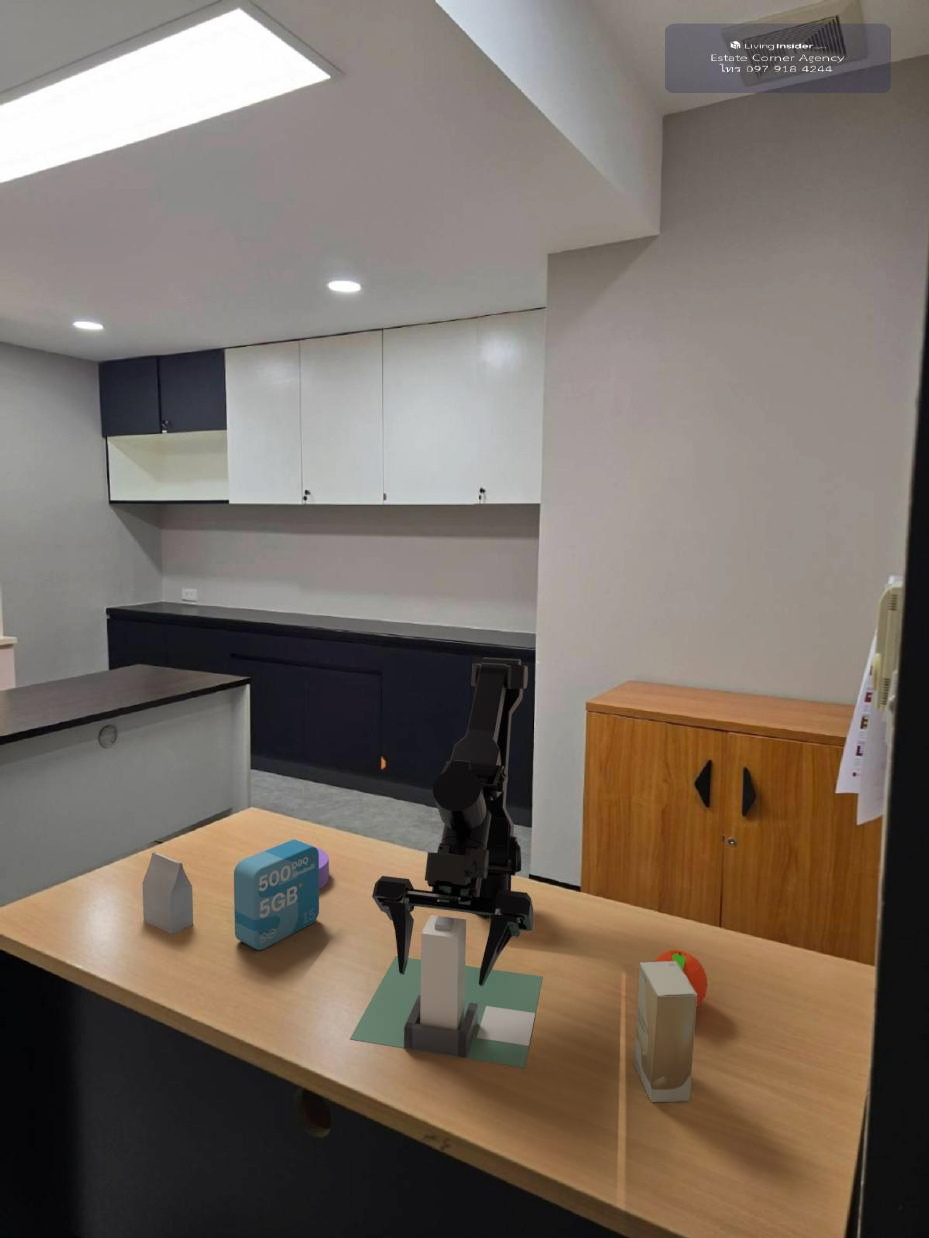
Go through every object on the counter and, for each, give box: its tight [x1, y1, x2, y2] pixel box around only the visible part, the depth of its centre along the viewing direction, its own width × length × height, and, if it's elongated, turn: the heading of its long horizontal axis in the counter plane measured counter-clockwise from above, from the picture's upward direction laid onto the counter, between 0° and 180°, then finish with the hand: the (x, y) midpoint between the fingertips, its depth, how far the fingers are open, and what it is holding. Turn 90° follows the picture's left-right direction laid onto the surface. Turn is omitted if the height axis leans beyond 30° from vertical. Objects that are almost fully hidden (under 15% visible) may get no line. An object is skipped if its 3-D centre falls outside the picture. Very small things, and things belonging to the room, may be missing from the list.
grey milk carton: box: [142, 851, 194, 935], centre depth 113 cm, size 4×7×10 cm, turn 55°
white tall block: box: [420, 914, 467, 1030], centre depth 88 cm, size 4×4×14 cm
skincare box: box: [633, 961, 698, 1103], centre depth 82 cm, size 6×4×12 cm
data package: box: [233, 839, 320, 951], centre depth 111 cm, size 12×4×12 cm, turn 143°
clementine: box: [653, 949, 708, 1008], centre depth 95 cm, size 8×7×7 cm
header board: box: [349, 955, 543, 1069], centre depth 93 cm, size 18×20×4 cm
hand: (440, 979), depth 86 cm, fingers open, 9 cm apart
